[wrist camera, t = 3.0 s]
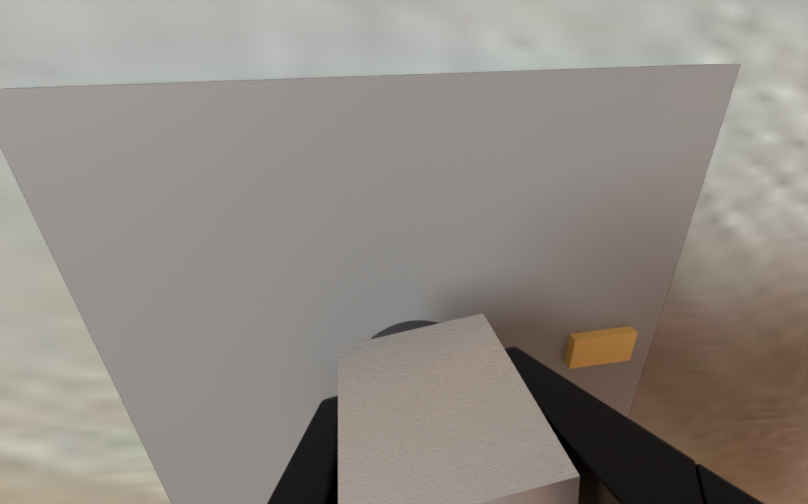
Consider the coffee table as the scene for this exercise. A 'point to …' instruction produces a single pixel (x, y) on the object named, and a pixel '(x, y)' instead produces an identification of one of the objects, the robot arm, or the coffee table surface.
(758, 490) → the coffee table surface
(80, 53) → the coffee table surface
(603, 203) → the base plate
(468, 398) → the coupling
